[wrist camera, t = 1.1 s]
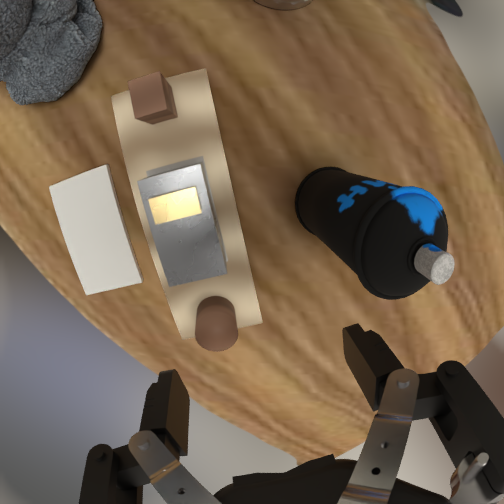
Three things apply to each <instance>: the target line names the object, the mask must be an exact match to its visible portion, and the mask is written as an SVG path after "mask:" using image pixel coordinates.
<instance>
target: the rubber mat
mask: <svg viewBox="0 0 504 504" xmlns="http://www.w3.org/2000/svg"><path fill="white" fill-rule="evenodd" d="M49 189H50V193H51V196H52V200H53V204H54V207H55V210H56V214H57V217H58V220H59V223H60V227H61V230H62V233H63V236H64V239H65V241H66V244H67V247H68V250H69V253H70V255H71V258H72V261H73V263H74V266H75V269H76V271H77V274H78V276H79V279H80V281H81V284H82V286H83V288H84V291H85V293H86V295H89V294H94V293H98V292H102V291H107V290H111V289H116V288H120V287H124V286H129V285H133V284H138V283H142V282H143V280H144V279H143V276H142V274H141V271H140V268H139V265H138V262H137V259H136V256H135V254H134V251H133V248H132V244H131V241H130V238H129V235H128V232H127V229H126V226H125V222H124V219H123V216H122V212H121V209H120V205H119V202H118V198H117V195H116V191H115V187H114V184H113V180H112V176H111V172H110V168H109V164H106V165H103V166H100V167H98V168H95V169H92V170H89V171H87V172H84V173H82V174H79V175H76V176H74V177H71V178H69V179H66V180H64V181H61V182H59V183H57V184H54V185H52V186H50V187H49Z"/></svg>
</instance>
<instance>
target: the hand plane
mask: <svg viewBox="0 0 504 504" xmlns="http://www.w3.org/2000/svg"><path fill="white" fill-rule="evenodd" d="M128 86H129V90H127V91H124V92H121V93H118V94H116V95H113V96H111V99H112V104H113V110H114V115H115V120H116V125H117V129H118V134H119V139H120V143H121V147H122V152H123V156H124V160H125V164H126V168H127V172H128V176H129V180H130V184H131V188H132V191H133V195H134V199H135V202H136V206H137V209H138V213H139V216H140V220H141V223H142V226H143V230H144V233H145V236H146V239H147V243H148V246H149V249H150V252H151V255H152V258H153V261H154V264H155V267H156V270H157V273H158V276H159V279H160V282H161V284H162V287H163V290H164V293H165V296H166V298H167V301H168V304H169V306H170V309H171V312H172V314H173V317H174V320H175V322H176V325H177V327H178V330H179V332H180V335H181V337H182V340H184V339H189V338H196V341H197V342H198V344H199V345H200V346H201V347H203V348H205V349H207V350H210V351H224V350H227V349H229V348H230V347H232V346H233V345H234V344H235V342H236V340H237V338H238V330H237V328H242V327H246V326H251V325H255V324H259V323H263V321H262V317H261V313H260V308H259V304H258V300H257V295H256V291H255V287H254V282H253V278H252V273H251V269H250V265H249V260H248V256H247V251H246V247H245V243H244V238H243V234H242V229H241V225H240V220H239V216H238V212H237V207H236V203H235V198H234V194H233V189H232V185H231V180H230V176H229V171H228V167H227V162H226V158H225V153H224V149H223V144H222V140H221V135H220V131H219V126H218V122H217V117H216V113H215V108H214V104H213V99H212V94H211V90H210V85H209V81H208V76H207V72H206V68H205V69H200V70H196V71H192V72H188V73H184V74H180V75H176V76H172V77H169V78H164V76H163V75H162V74H161V72H160V71H158V72H155V73H151V74H148V75H145V76H142V77H139V78H136V79H133V80H130V81H128ZM200 162H203V165H204V169H205V173H206V178H207V182H208V186H209V190H210V194H211V199H212V203H213V207H214V211H215V215H216V219H217V223H218V227H219V231H220V235H221V239H222V243H223V247H224V251H225V255H226V264H227V274H225V275H220V276H216V277H212V278H207V279H203V280H199V281H194V282H190V283H185V284H181V285H176V286H172V287H169V285H168V282H167V279H166V276H165V273H164V270H163V267H162V264H161V261H160V258H159V255H158V252H157V249H156V246H155V242H154V239H153V236H152V233H151V229H150V226H149V223H148V219H147V216H146V212H145V209H144V205H143V202H142V198H141V194H140V191H139V187H138V183H137V181H139V180H141V179H144V178H146V177H148V176H151V175H155V174H158V173H162V172H165V171H169V170H173V169H176V168H180V167H184V166H188V165H192V164H196V163H200Z"/></svg>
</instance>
